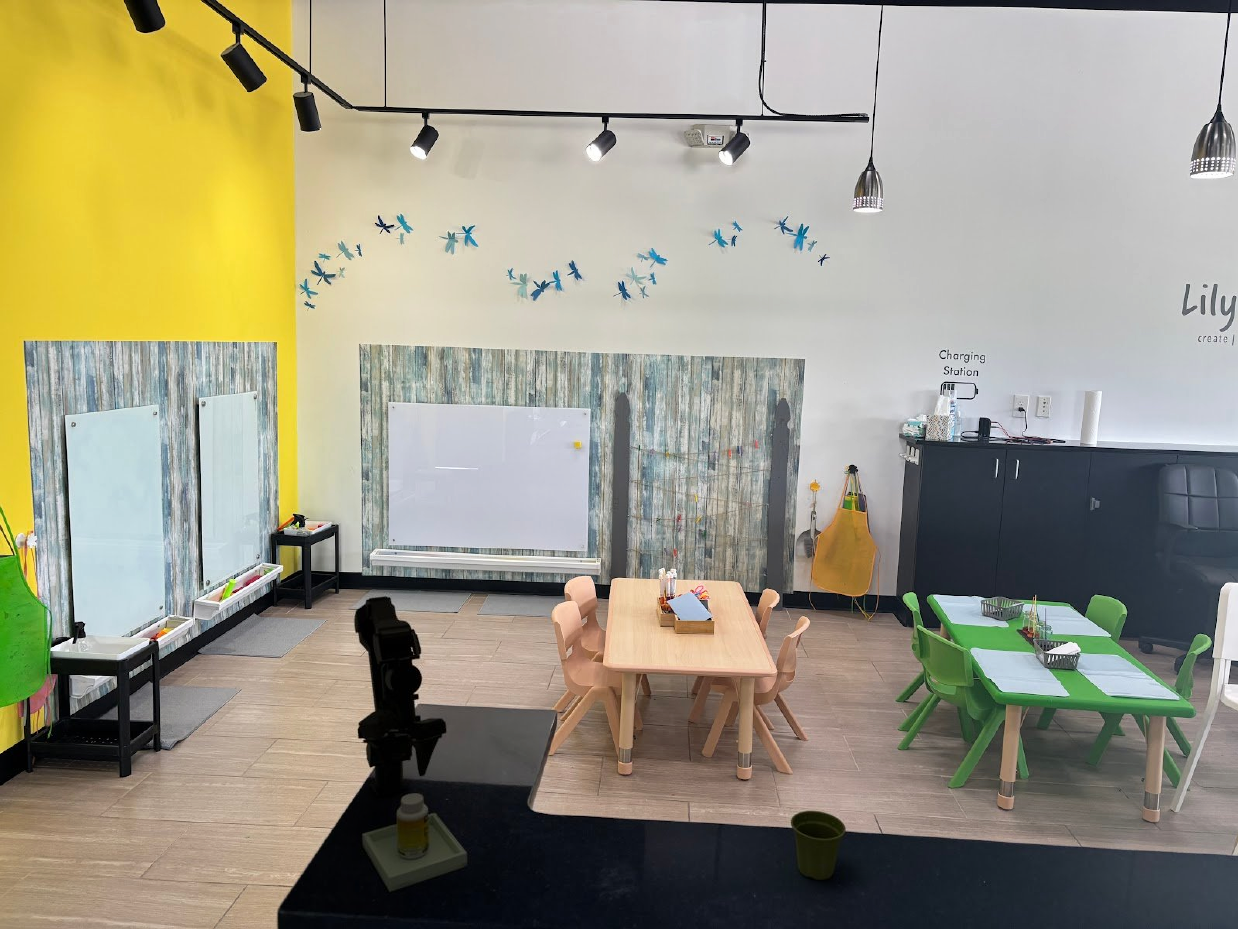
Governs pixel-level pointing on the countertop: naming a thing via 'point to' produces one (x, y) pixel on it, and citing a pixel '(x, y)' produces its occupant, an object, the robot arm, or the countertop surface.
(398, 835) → the supplement bottle
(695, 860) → the countertop surface
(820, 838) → the plant pot
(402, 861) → the tray
